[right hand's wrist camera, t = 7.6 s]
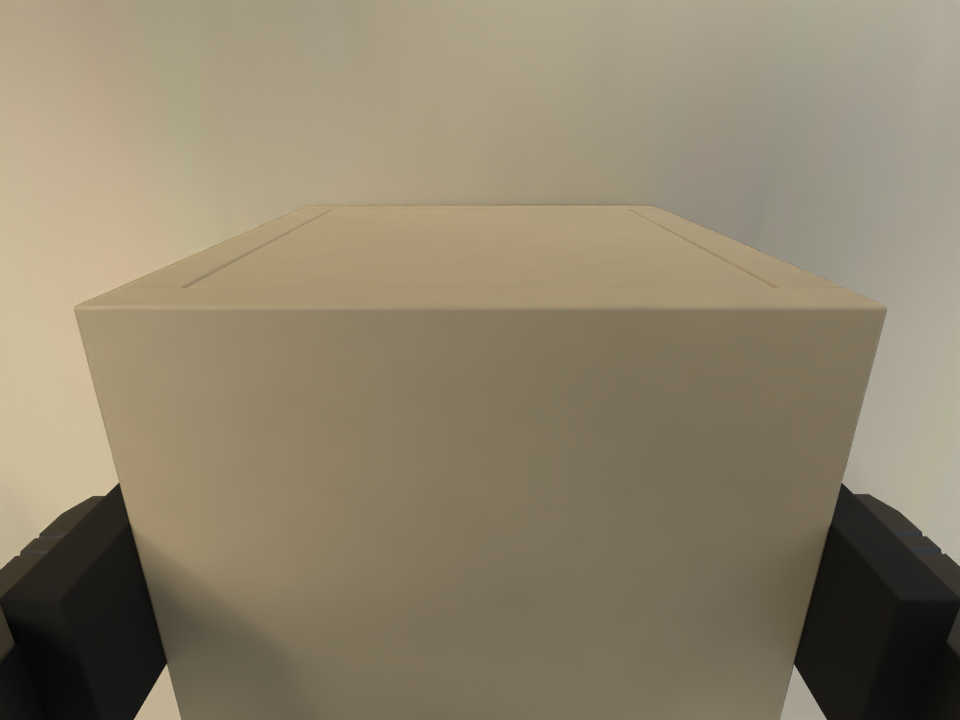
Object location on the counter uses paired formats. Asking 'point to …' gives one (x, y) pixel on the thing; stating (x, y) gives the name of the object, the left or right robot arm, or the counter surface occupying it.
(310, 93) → the counter surface
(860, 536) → the right robot arm
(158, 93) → the counter surface
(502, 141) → the counter surface
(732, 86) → the counter surface
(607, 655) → the cabinet
